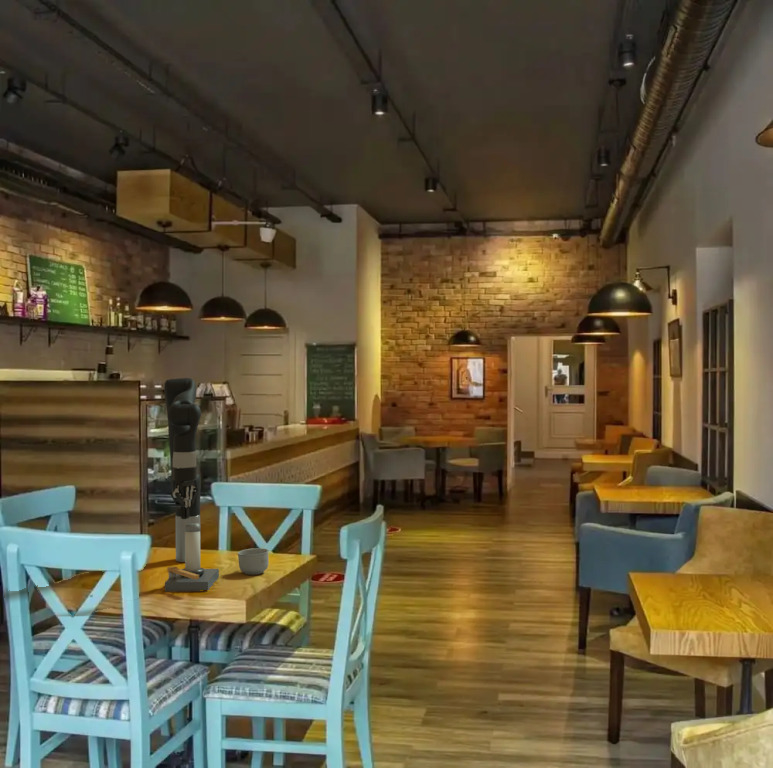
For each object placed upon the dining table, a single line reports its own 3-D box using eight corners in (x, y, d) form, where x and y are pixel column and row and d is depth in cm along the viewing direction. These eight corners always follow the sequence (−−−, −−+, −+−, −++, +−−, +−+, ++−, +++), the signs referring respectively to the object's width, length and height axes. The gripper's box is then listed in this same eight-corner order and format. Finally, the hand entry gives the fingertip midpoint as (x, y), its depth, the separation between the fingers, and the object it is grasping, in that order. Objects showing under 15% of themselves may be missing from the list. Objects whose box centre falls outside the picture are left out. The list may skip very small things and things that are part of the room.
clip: (174, 569, 290) (174, 566, 290) (201, 578, 277) (201, 574, 277) (165, 571, 288) (165, 567, 288) (192, 580, 275) (192, 576, 275)
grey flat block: (178, 577, 302) (177, 563, 302) (218, 577, 302) (218, 562, 302) (164, 591, 282) (164, 576, 282) (208, 591, 282) (208, 575, 282)
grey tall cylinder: (183, 581, 296) (183, 523, 296) (206, 581, 296) (206, 522, 296) (179, 586, 288) (178, 526, 288) (201, 586, 288) (201, 526, 288)
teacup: (267, 576, 304) (267, 553, 304) (236, 576, 303) (236, 553, 303) (270, 567, 318) (270, 545, 317) (240, 568, 317) (240, 546, 317)
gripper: (186, 463, 289) (186, 514, 289) (162, 467, 276) (163, 521, 277) (205, 463, 286) (206, 516, 286) (182, 468, 274) (183, 522, 274)
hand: (184, 518), depth 281 cm, fingers closed
